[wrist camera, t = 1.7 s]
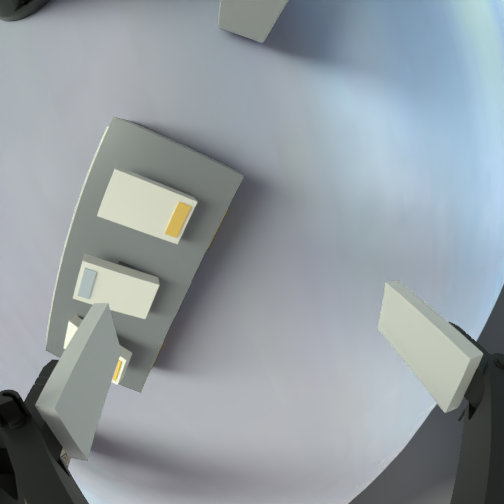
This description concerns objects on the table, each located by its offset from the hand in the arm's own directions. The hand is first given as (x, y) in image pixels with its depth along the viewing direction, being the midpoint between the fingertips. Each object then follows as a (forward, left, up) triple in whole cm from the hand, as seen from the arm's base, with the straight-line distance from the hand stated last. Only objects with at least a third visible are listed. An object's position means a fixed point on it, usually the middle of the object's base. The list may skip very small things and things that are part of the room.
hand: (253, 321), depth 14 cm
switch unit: (-8, -10, -24) cm, 27 cm away
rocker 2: (-8, -10, -16) cm, 20 cm away
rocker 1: (-8, -1, -16) cm, 17 cm away
